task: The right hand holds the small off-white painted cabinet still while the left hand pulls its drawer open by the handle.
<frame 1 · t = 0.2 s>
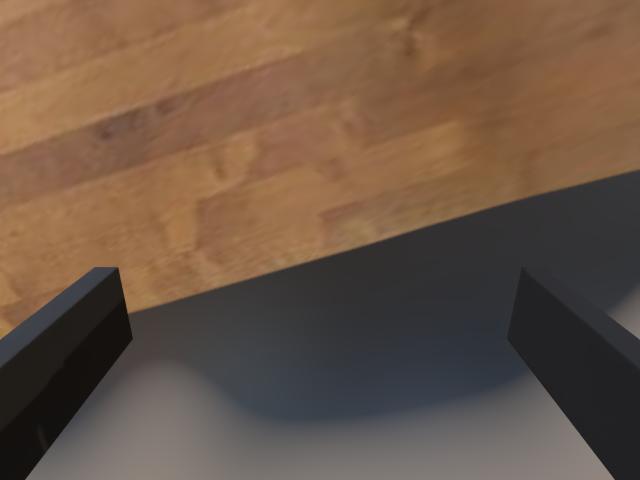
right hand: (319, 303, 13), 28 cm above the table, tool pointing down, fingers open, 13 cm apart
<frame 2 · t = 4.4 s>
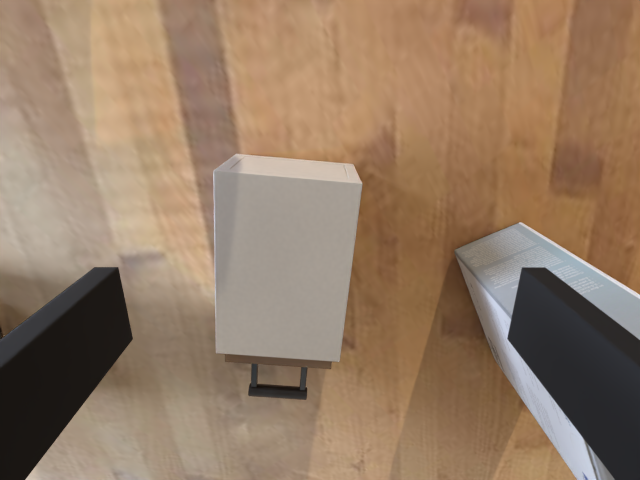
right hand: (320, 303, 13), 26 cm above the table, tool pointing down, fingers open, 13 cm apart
hard drive box: (505, 292, 42), on the table
cabinet: (290, 239, 40), on the table
drawer: (283, 305, 38), point 4 cm above the table, slide at 0.5 cm
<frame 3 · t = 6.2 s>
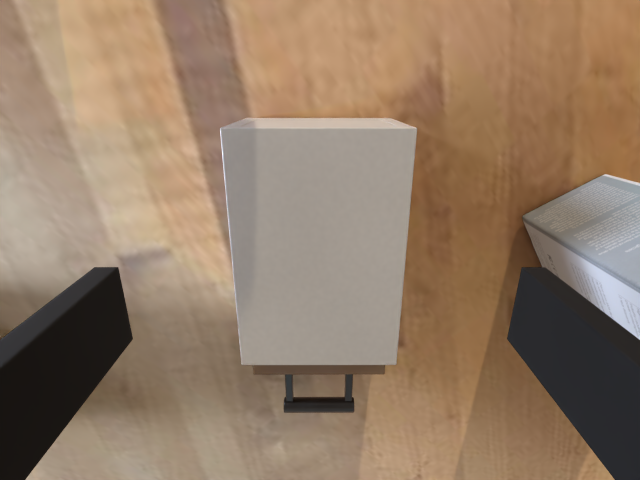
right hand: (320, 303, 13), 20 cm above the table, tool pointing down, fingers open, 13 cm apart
hard drive box: (586, 264, 34), on the table
cabinet: (318, 220, 33), on the table
drawer: (318, 300, 31), point 4 cm above the table, slide at 0.5 cm
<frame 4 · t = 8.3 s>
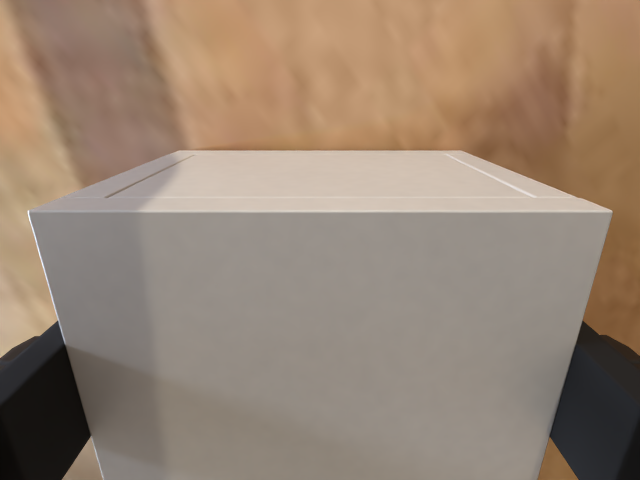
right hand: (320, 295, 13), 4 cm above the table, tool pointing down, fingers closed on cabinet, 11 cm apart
cabinet: (320, 329, 18), on the table, touching right hand
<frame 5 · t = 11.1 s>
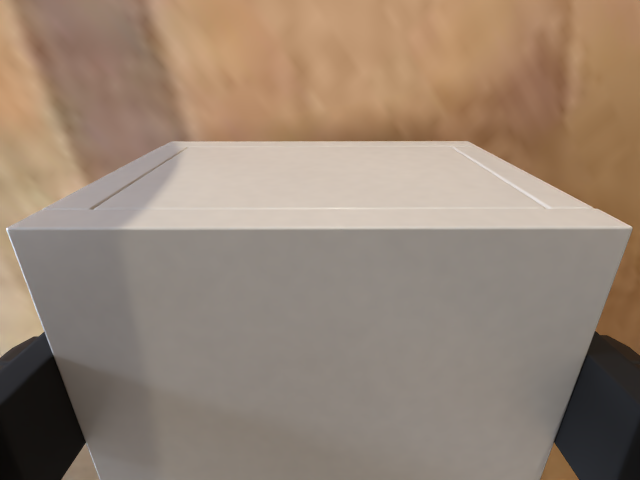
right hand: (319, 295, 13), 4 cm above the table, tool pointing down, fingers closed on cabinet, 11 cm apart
cabinet: (319, 321, 18), on the table, touching right hand
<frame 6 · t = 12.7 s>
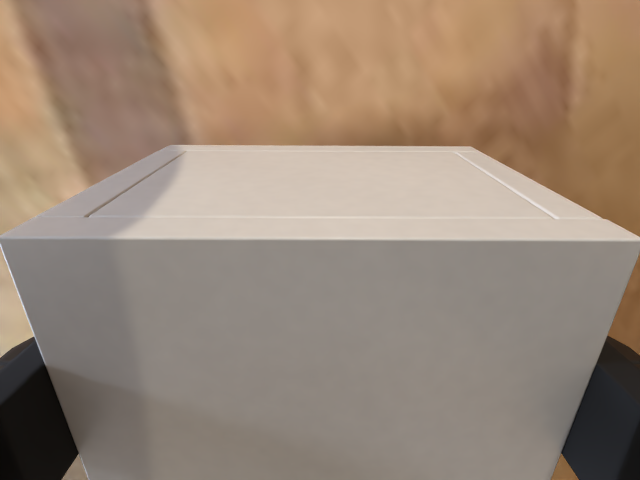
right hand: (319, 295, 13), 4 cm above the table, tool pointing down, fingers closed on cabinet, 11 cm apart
cabinet: (319, 327, 18), point 1 cm above the table, touching right hand
when the right hand's fingers open (4 cm above the table, at t = 14.4 s): cabinet stays where it is, on the table.
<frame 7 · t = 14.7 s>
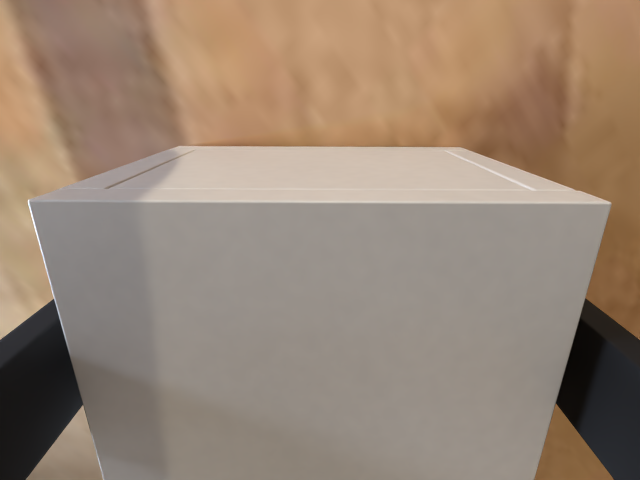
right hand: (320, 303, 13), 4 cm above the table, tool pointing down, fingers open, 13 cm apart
cabinet: (319, 326, 18), on the table
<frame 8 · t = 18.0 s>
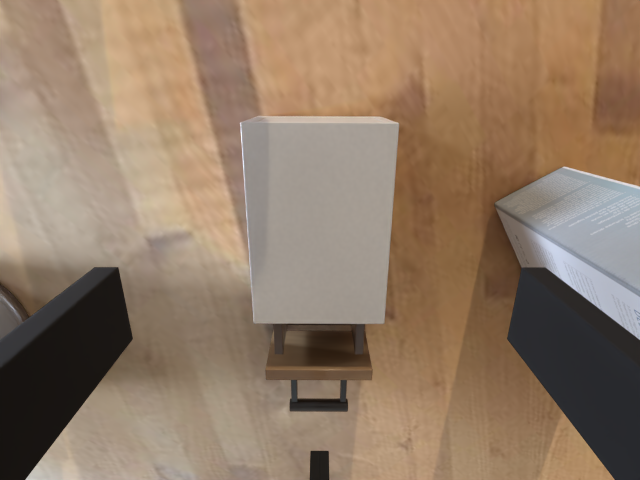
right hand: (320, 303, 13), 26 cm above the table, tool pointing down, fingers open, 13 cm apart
hard drive box: (551, 245, 40), on the table
cabinet: (319, 204, 38), on the table
drawer: (319, 319, 38), point 4 cm above the table, slide at 5.7 cm
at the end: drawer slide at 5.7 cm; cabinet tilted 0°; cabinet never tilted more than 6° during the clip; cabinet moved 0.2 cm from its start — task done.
